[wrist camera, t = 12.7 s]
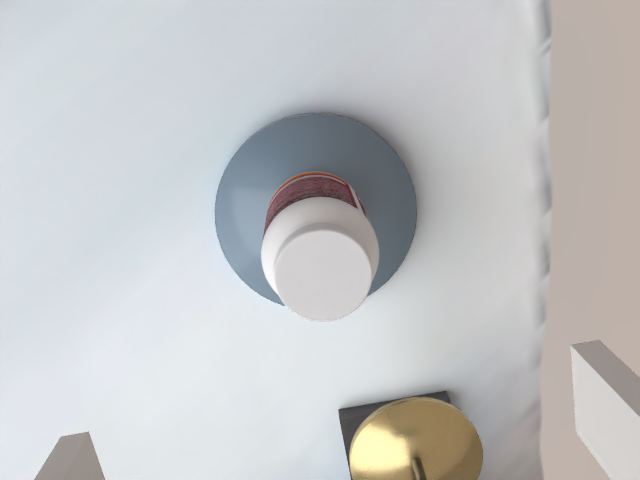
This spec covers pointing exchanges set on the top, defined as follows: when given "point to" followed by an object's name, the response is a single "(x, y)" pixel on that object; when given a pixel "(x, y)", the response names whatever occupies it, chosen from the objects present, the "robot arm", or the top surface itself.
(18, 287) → the top surface
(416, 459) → the balance
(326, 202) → the pill bottle
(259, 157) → the dish
